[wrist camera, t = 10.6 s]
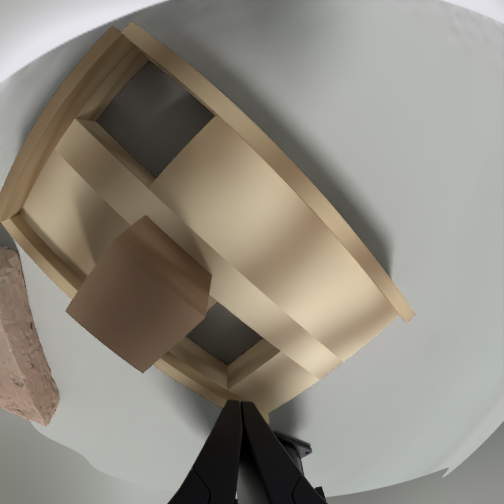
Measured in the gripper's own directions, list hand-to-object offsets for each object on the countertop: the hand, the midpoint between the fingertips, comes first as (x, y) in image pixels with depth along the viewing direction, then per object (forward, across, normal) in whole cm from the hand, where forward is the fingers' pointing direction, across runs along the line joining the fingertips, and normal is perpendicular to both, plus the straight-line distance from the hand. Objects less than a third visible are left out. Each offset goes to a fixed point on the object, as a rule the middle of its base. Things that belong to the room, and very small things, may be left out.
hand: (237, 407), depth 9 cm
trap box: (+9, +2, -2) cm, 10 cm away
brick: (+10, +20, +9) cm, 24 cm away
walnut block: (+7, +5, -1) cm, 8 cm away
